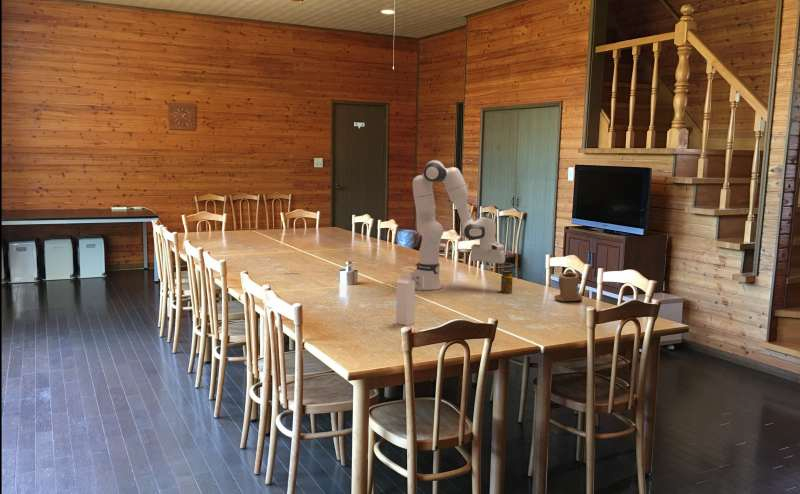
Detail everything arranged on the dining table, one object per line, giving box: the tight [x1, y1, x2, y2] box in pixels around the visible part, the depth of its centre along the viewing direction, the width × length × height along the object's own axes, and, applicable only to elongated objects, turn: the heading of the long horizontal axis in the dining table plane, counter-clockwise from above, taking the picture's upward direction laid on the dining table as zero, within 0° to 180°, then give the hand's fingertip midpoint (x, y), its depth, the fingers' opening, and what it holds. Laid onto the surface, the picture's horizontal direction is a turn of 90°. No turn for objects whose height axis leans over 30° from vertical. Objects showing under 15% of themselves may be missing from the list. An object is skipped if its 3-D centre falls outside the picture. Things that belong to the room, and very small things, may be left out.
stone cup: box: [554, 271, 584, 302], centre depth 344 cm, size 15×12×15 cm
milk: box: [395, 273, 416, 326], centre depth 294 cm, size 6×6×22 cm
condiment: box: [496, 270, 515, 295], centre depth 362 cm, size 7×8×12 cm
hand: (487, 269), depth 368 cm, fingers closed
